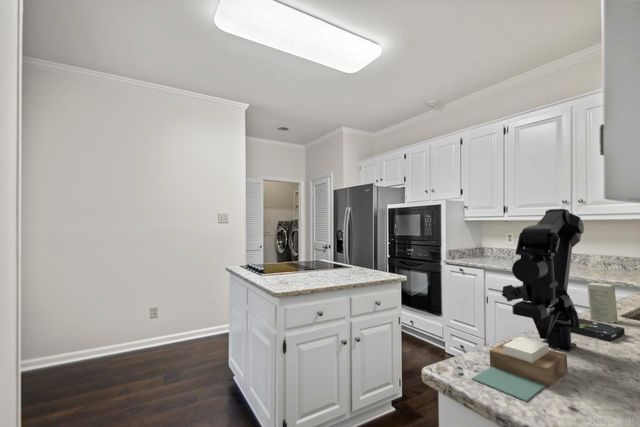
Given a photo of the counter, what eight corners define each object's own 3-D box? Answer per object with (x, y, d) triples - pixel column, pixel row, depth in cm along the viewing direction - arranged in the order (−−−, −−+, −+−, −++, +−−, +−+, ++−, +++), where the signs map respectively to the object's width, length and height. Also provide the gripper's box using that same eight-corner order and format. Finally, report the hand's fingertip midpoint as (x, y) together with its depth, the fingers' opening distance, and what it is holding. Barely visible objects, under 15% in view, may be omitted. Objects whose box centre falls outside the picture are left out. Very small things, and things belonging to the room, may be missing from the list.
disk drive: (625, 337, 92) (566, 323, 105) (625, 327, 92) (566, 314, 105) (610, 344, 87) (550, 328, 100) (610, 334, 87) (550, 320, 100)
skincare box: (618, 321, 104) (616, 284, 104) (613, 323, 102) (611, 286, 102) (593, 316, 110) (591, 281, 110) (588, 318, 107) (586, 283, 108)
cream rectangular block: (521, 344, 78) (520, 336, 78) (548, 352, 73) (548, 343, 73) (503, 353, 73) (503, 345, 73) (532, 362, 68) (531, 353, 68)
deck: (511, 354, 81) (511, 339, 81) (567, 372, 71) (566, 354, 72) (490, 366, 75) (489, 350, 75) (548, 387, 65) (547, 368, 65)
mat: (492, 367, 75) (492, 366, 75) (545, 386, 66) (545, 385, 66) (471, 379, 70) (471, 377, 70) (526, 401, 61) (526, 400, 61)
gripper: (522, 269, 91) (524, 323, 91) (489, 277, 81) (492, 338, 80) (568, 274, 82) (571, 333, 81) (538, 283, 71) (542, 352, 71)
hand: (543, 338), depth 79 cm, fingers closed
